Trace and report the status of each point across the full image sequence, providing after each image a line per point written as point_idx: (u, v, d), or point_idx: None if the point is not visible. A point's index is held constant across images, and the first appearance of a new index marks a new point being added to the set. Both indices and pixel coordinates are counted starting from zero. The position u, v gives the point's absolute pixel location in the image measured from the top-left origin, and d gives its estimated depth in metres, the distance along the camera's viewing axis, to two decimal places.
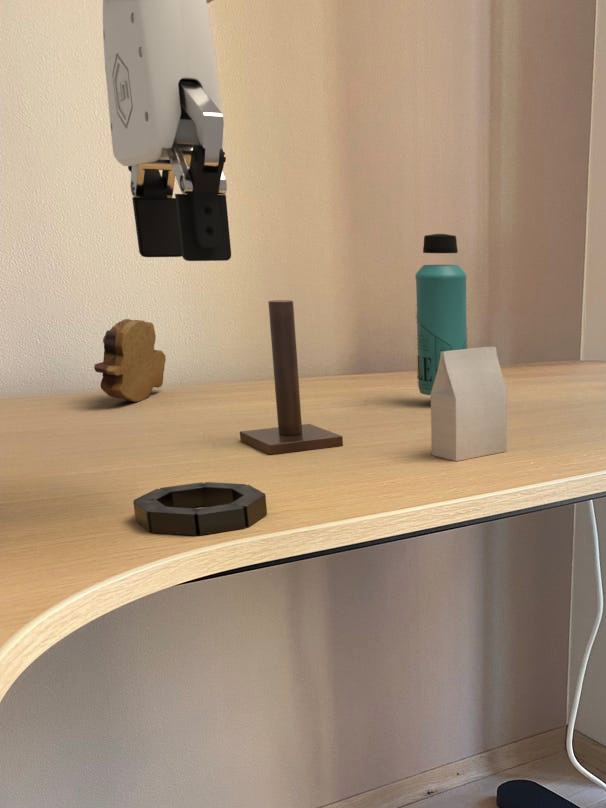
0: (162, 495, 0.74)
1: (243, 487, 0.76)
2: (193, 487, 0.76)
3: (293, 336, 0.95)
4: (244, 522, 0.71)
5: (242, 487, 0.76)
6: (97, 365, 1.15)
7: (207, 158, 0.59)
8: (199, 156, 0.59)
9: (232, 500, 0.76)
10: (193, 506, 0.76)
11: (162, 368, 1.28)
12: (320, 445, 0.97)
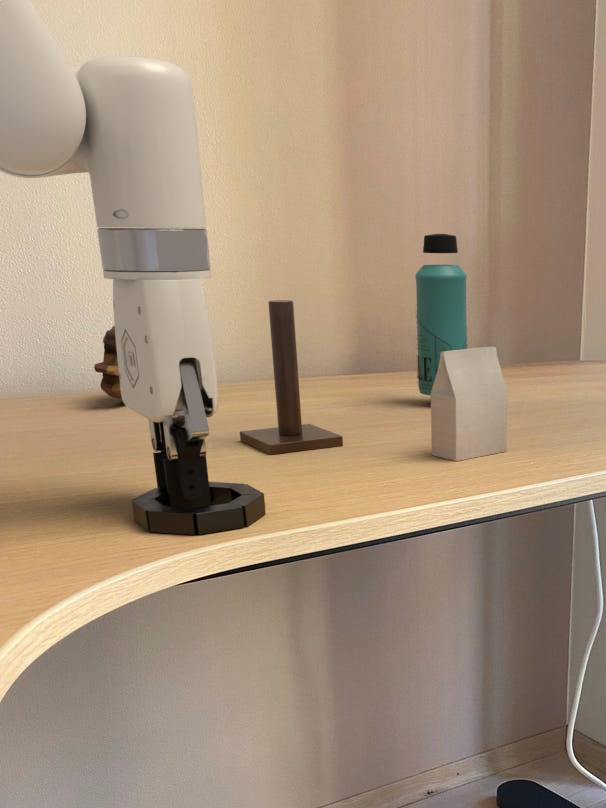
0: (161, 494, 0.74)
1: (242, 487, 0.76)
2: None
3: (293, 336, 0.95)
4: (243, 521, 0.71)
5: (241, 487, 0.76)
6: (97, 365, 1.15)
7: (189, 442, 0.71)
8: (182, 442, 0.71)
9: (231, 500, 0.76)
10: None
11: None
12: (320, 445, 0.97)
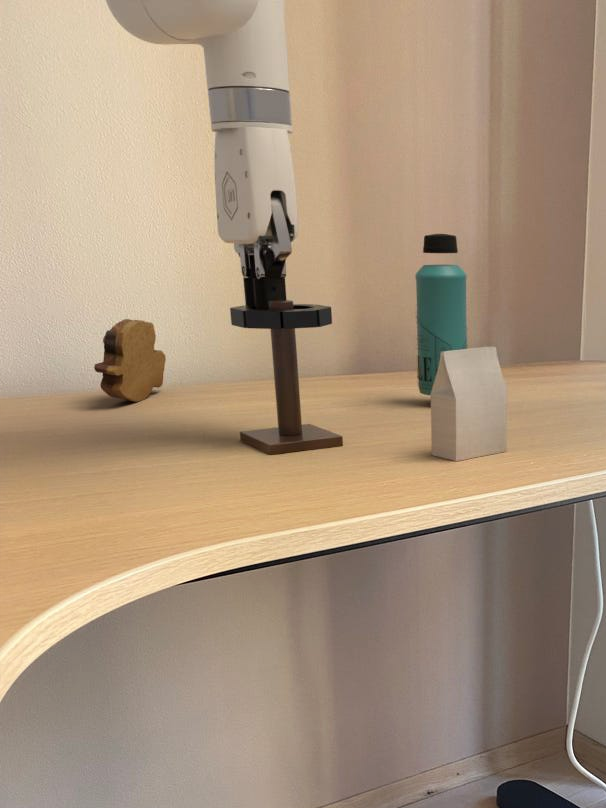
0: (251, 306, 0.95)
1: (312, 305, 0.97)
2: None
3: (293, 336, 0.95)
4: (316, 322, 0.92)
5: (312, 305, 0.97)
6: (97, 365, 1.15)
7: (274, 261, 0.92)
8: (270, 260, 0.92)
9: None
10: None
11: (162, 368, 1.28)
12: (320, 445, 0.97)
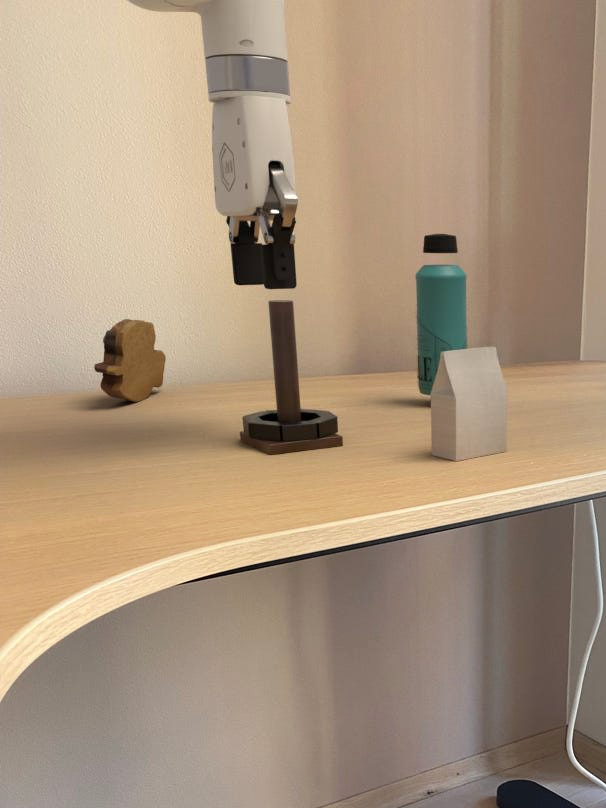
0: (264, 414, 1.00)
1: (324, 412, 1.01)
2: None
3: (293, 336, 0.95)
4: (316, 434, 0.96)
5: (323, 412, 1.01)
6: (97, 365, 1.15)
7: (284, 223, 0.89)
8: (279, 222, 0.88)
9: None
10: None
11: (162, 368, 1.28)
12: (320, 445, 0.97)
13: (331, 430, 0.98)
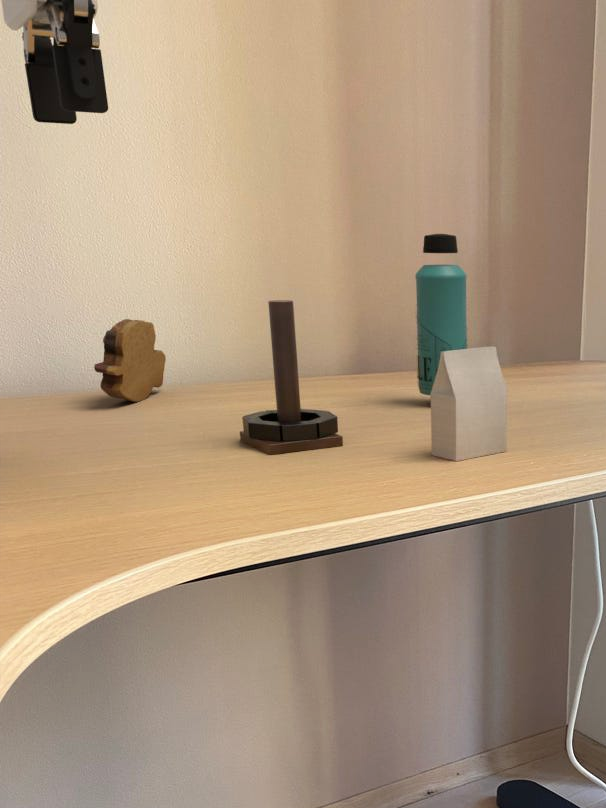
0: (264, 414, 1.00)
1: (324, 412, 1.01)
2: None
3: (293, 336, 0.95)
4: (316, 434, 0.96)
5: (323, 412, 1.01)
6: (97, 365, 1.15)
7: (76, 8, 0.65)
8: (69, 5, 0.64)
9: None
10: None
11: (162, 368, 1.28)
12: (320, 445, 0.97)
13: (331, 430, 0.98)
